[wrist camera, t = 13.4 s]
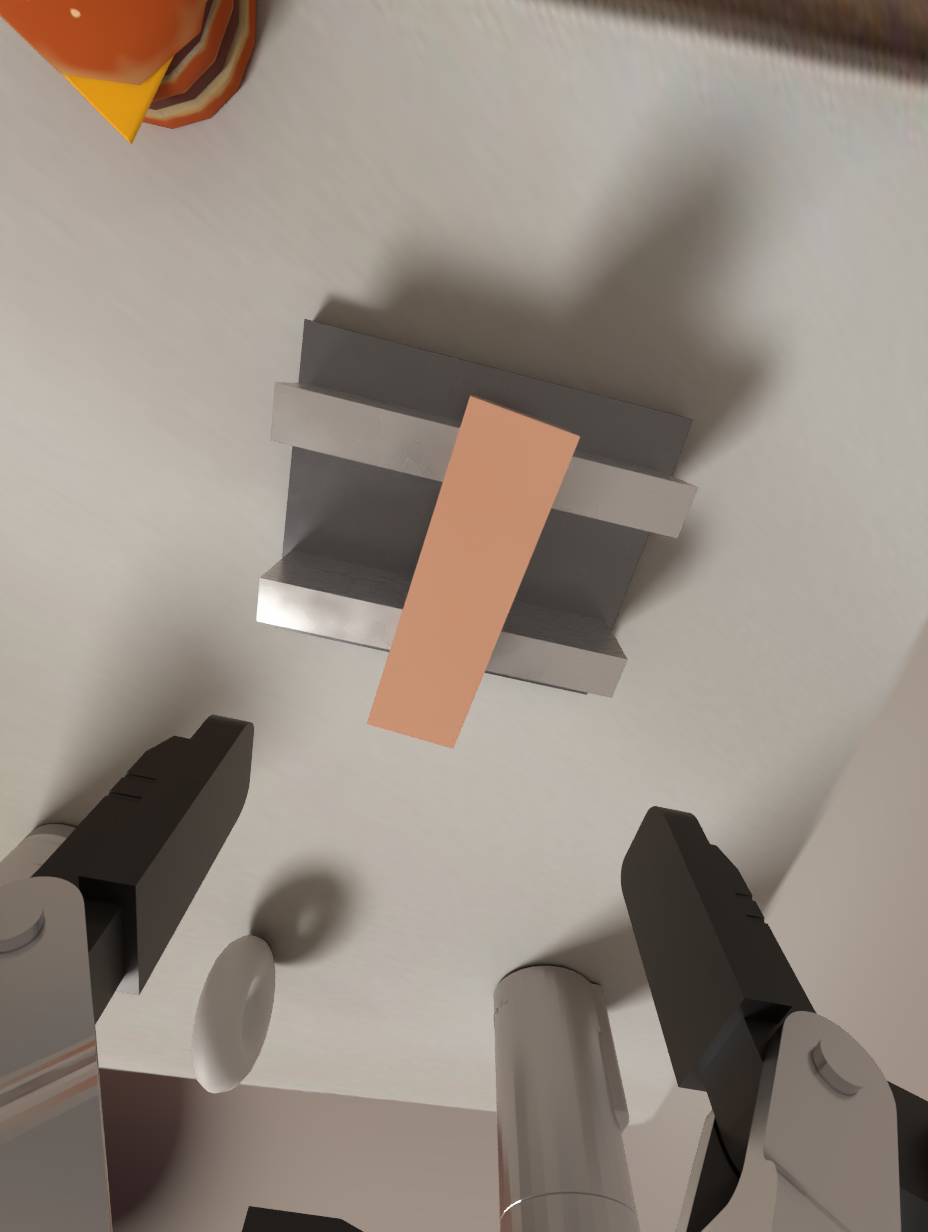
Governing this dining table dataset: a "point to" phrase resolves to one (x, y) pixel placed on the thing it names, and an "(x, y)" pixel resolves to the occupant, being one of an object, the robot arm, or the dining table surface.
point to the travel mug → (33, 852)
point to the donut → (233, 1014)
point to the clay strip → (470, 568)
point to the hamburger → (143, 54)
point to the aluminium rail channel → (410, 485)
